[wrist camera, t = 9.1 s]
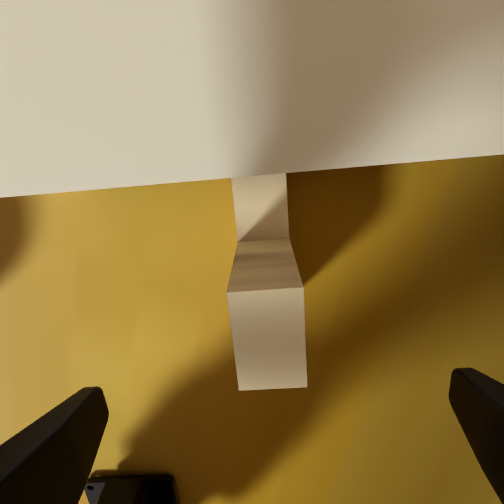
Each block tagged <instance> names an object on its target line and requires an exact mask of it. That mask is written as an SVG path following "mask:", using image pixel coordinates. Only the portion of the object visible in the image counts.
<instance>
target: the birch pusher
mask: <svg viewBox="0 0 504 504" xmlns="http://www.w3.org/2000/svg"><path fill="white" fill-rule="evenodd" d="M231 181H232V191H233V200H234V209H235V219H236V228H237V238H238V244H237V248H236V253H235V257H234V262H233V266H232V271H231V275H230V280H229V284H228V288H227V300H228V308H229V316H230V324H231V332H232V340H233V348H234V356H235V364H236V372H237V380H238V388H239V391H243V390H262V389H282V388H302V387H307V365H306V339H305V313H304V287H303V284H302V280H301V277H300V273H299V270H298V266H297V263H296V260H295V256H294V253H293V249H292V246H291V242H290V239H289V222H288V203H287V184H286V173H281V174H269V175H258V176H246V177H234V178H231Z"/></svg>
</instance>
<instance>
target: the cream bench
mask: <svg viewBox="0 0 504 504" xmlns="http://www.w3.org/2000/svg"><path fill="white" fill-rule="evenodd" d="M501 154H504V0H0V198H3V197H14V196H26V195H37V194H49V193H61V192H72V191H84V190H95V189H107V188H118V187H130V186H142V185H153V184H165V183H176V182H188V181H200V180H211V179H223V178H234V177H246V176H258V175H269V174H281V173H292V172H304V171H315V170H327V169H339V168H350V167H362V166H373V165H385V164H397V163H408V162H420V161H431V160H443V159H455V158H466V157H478V156H489V155H501Z"/></svg>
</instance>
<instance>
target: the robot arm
mask: <svg viewBox="0 0 504 504" xmlns="http://www.w3.org/2000/svg"><path fill="white" fill-rule="evenodd" d="M449 401H450V404H451V406H452V409H453V411H454V413H455V415H456V417H457V419H458V421H459V423H460V425H461V427H462V429H463V431H464V433H465V436H466V438H467V440H468V442H469V444H470V446H471V448H472V450H473V452H474V454H475V456H476V458H477V460H478V462H479V464H480V466H481V468H482V470H483V472H484V473H485V475H486V477H487V479H488V480H489V482H490V484H491V485H492V487H493V489H494V490H495V492H496V494H497V496H498V497H499V499H500V501H501V502H502V504H504V384H502V383H500V382H498V381H496V380H494V379H492V378H490V377H489V376H487V375H485V374H483V373H481V372H479V371H477V370H475V369H473V368H456V369H454V370H453V371H452V374H451V381H450V388H449ZM108 417H109V411H108V407H107V404H106V400H105V397H104V394H103V391H102V389H101V388H100V387H85V388H82V389H81V390H79V391H78V392H77V393H75V394H74V395H72V396H71V397H69V398H68V399H66V400H65V401H64V402H62V403H61V404H59V405H58V406H56V407H55V408H53V409H52V410H51V411H49V412H48V413H46V414H45V415H43V416H42V417H40V418H39V419H38V420H36V421H35V422H33V423H32V424H30V425H29V426H27V427H26V428H25V429H23V430H22V431H20V432H19V433H17V434H16V435H15V436H13V437H12V438H10V439H9V440H7V441H6V442H4V443H3V444H2V445H0V504H78V502H79V500H80V498H81V495H82V493H83V490H85V493H86V495H87V498H88V501H89V503H90V504H180V501H179V497H178V493H177V489H176V484H175V480H174V478H173V477H172V476H170V475H146V476H118V477H91V478H89V475H90V472H91V469H92V466H93V463H94V460H95V457H96V454H97V451H98V448H99V445H100V442H101V439H102V436H103V433H104V430H105V427H106V424H107V421H108Z"/></svg>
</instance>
